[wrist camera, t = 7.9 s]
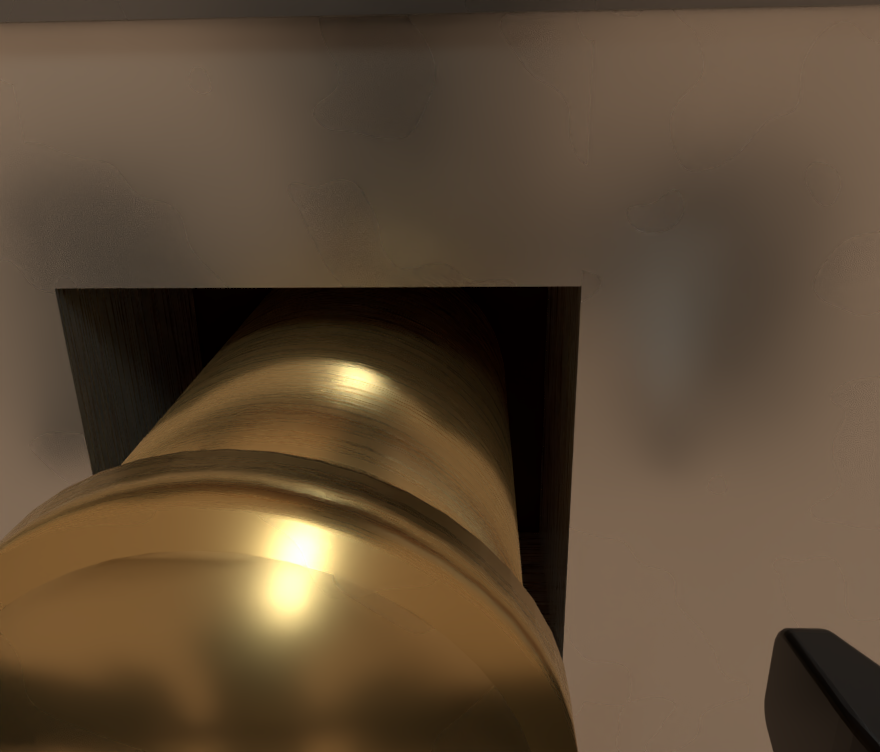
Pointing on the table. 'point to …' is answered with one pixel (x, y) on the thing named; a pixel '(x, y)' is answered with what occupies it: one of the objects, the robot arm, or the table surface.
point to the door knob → (295, 555)
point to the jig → (497, 281)
